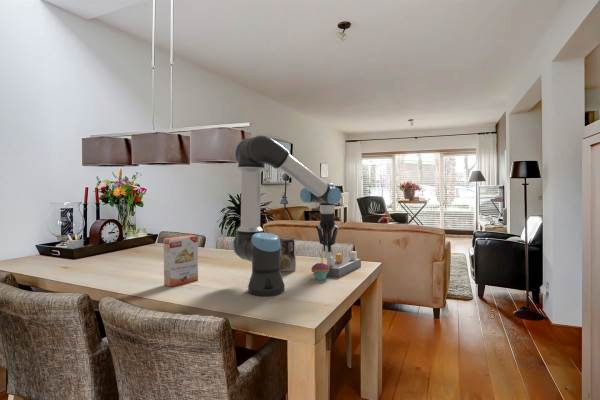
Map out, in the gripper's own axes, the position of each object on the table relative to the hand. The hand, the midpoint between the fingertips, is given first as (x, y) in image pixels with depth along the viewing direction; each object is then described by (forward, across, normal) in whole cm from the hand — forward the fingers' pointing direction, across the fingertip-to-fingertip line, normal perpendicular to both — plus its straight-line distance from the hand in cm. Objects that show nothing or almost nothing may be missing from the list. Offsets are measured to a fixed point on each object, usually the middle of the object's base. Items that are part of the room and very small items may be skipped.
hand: (327, 257), depth 182 cm
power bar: (+5, -9, 0) cm, 10 cm away
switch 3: (+1, -11, -9) cm, 14 cm away
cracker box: (+6, +43, +58) cm, 73 cm away
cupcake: (+6, -7, +19) cm, 21 cm away
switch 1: (+1, -7, +9) cm, 11 cm away
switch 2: (+1, -7, 0) cm, 7 cm away
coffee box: (+6, +16, +14) cm, 22 cm away
